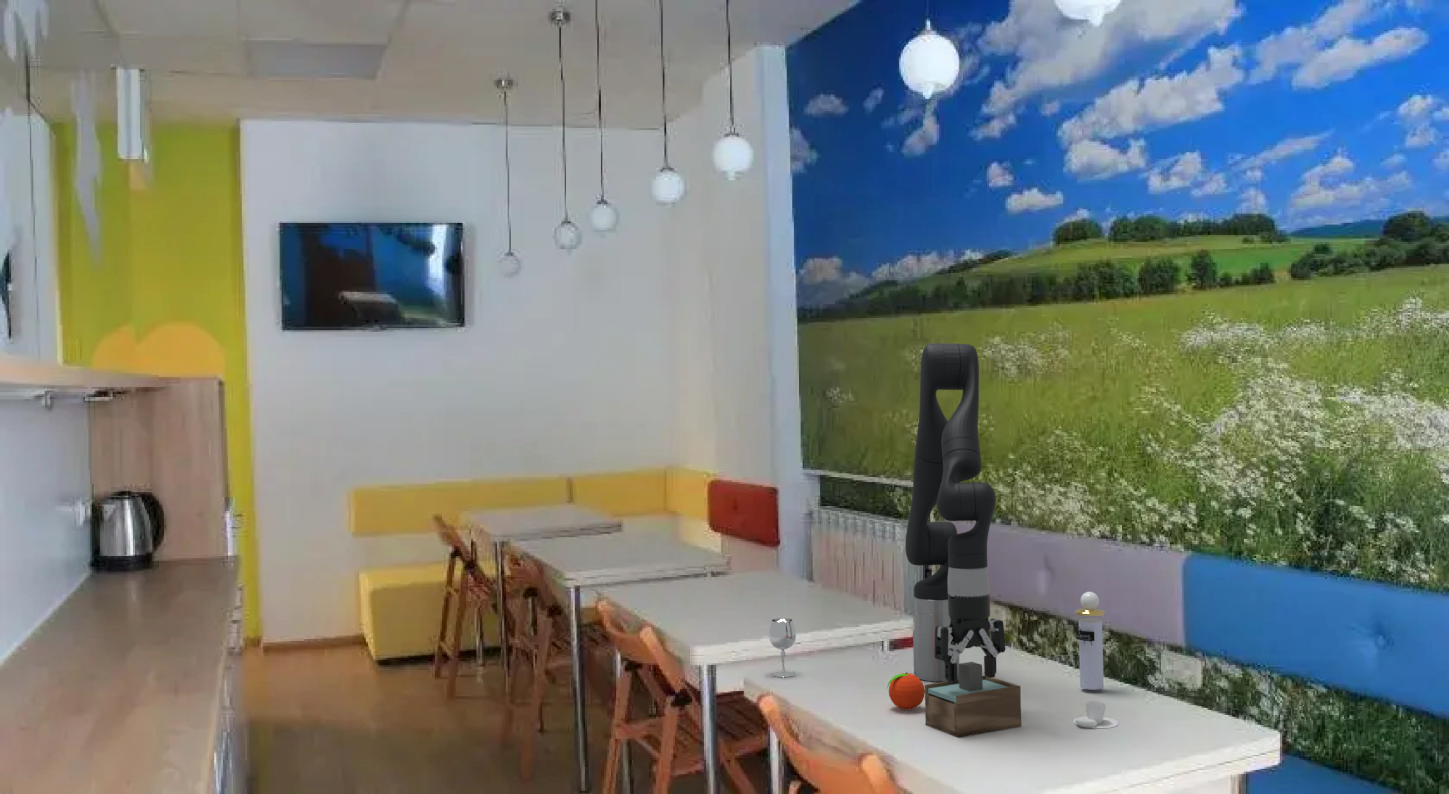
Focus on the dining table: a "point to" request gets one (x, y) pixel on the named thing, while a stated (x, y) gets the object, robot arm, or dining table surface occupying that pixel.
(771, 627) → the wineglass
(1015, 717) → the box
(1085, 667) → the perfume bottle
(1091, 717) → the teacup and saucer
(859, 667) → the dining table surface
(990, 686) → the cover plate
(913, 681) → the clementine
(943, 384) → the robot arm
